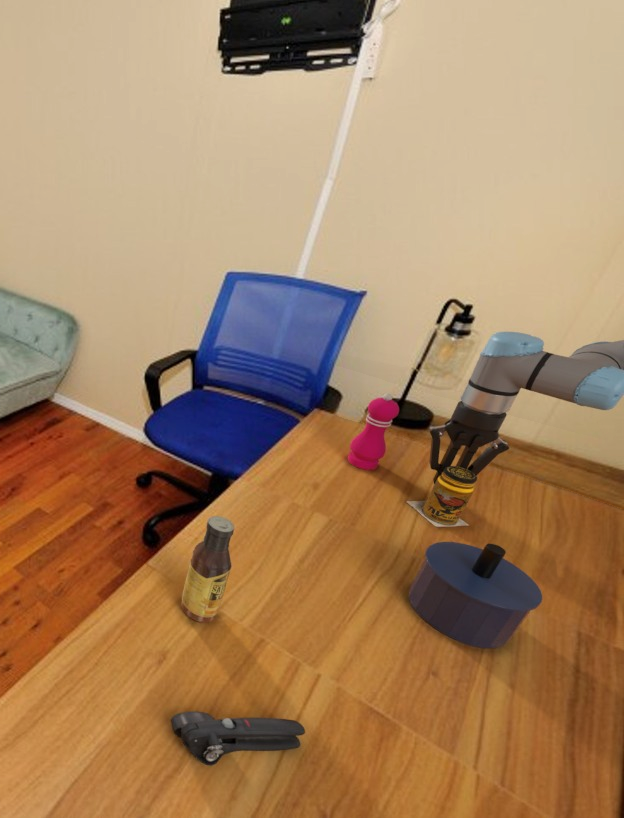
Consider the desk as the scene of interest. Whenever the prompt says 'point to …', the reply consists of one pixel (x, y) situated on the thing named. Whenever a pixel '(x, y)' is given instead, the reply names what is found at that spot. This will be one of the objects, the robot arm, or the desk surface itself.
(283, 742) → the can opener
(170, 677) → the desk surface
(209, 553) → the sauce bottle
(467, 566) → the pot lid
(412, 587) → the pot
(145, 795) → the desk surface
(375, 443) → the pepper mill
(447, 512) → the condiment
